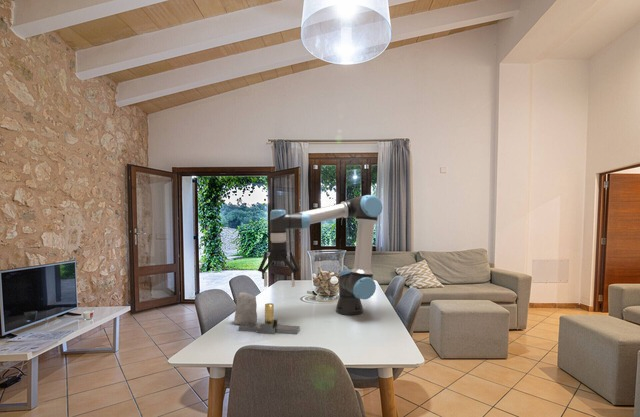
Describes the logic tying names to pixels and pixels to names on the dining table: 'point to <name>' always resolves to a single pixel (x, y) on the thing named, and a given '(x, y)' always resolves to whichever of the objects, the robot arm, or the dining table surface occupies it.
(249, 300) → the decorative stone
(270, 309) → the link pin
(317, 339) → the dining table surface
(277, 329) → the link plates
